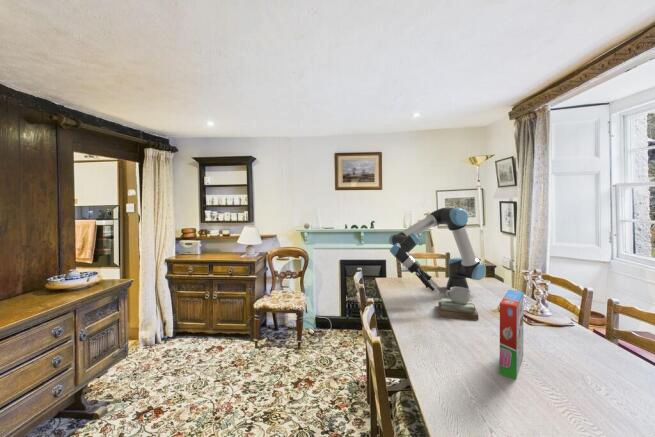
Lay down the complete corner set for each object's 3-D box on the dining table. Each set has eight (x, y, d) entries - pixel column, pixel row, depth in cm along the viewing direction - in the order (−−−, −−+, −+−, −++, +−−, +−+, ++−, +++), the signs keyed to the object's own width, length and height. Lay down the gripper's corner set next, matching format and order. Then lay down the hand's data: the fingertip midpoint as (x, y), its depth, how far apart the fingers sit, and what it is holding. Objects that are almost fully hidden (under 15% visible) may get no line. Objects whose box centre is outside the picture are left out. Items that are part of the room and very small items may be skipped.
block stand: (438, 306, 184) (438, 296, 184) (474, 309, 177) (474, 299, 177) (439, 316, 167) (439, 306, 167) (478, 320, 160) (478, 309, 160)
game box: (508, 352, 126) (508, 289, 125) (523, 356, 122) (523, 291, 121) (499, 374, 110) (499, 302, 108) (516, 379, 106) (517, 305, 105)
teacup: (466, 299, 177) (466, 286, 176) (473, 305, 166) (473, 291, 165) (442, 299, 178) (442, 286, 177) (448, 305, 167) (447, 291, 167)
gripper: (408, 264, 192) (433, 289, 188) (405, 273, 169) (433, 301, 164) (416, 256, 190) (441, 281, 186) (414, 264, 167) (443, 292, 162)
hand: (437, 290), depth 175 cm, fingers open, 13 cm apart
